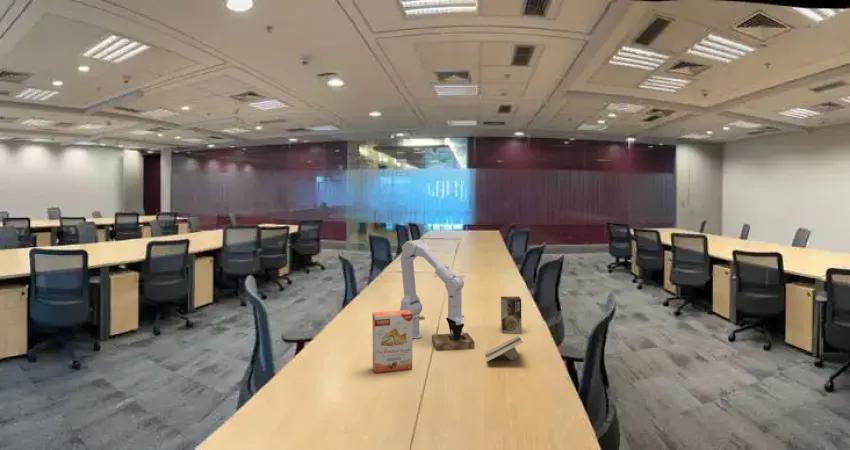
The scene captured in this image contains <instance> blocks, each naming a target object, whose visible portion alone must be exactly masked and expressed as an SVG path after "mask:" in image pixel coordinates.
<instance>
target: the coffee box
mask: <svg viewBox="0 0 850 450" xmlns="http://www.w3.org/2000/svg"><path fill="white" fill-rule="evenodd" d="M522 325H523V324H522V298H521V297H520V296H500V331H501V333H502V334H522V331H523V330H522V329H523V328H522V327H523V326H522Z"/></svg>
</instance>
